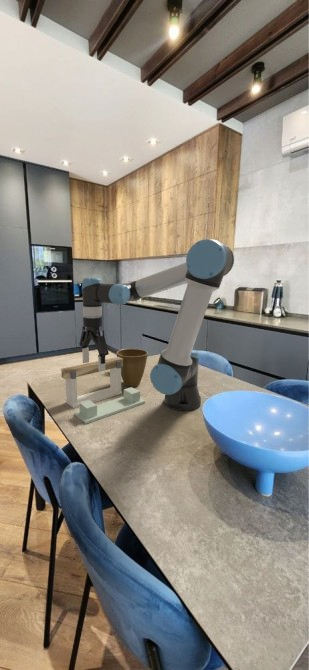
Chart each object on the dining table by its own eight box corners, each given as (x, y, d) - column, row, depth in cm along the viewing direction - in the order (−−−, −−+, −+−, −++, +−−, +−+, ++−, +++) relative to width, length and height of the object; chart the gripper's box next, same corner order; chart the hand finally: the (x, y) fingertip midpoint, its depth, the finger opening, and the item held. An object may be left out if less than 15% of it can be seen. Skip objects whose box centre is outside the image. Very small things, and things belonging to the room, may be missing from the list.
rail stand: (121, 393, 126) (121, 361, 123) (73, 408, 112) (71, 372, 108) (113, 388, 131) (112, 357, 128) (66, 402, 117) (64, 367, 114)
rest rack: (145, 403, 117) (145, 391, 116) (85, 424, 100) (85, 411, 99) (132, 396, 124) (132, 385, 123) (74, 414, 107) (73, 402, 106)
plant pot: (146, 390, 130) (147, 356, 127) (114, 389, 131) (114, 356, 127) (148, 378, 145) (148, 348, 142) (119, 378, 145) (118, 348, 142)
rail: (123, 366, 126) (123, 358, 126) (65, 379, 109) (64, 371, 108) (118, 364, 129) (118, 356, 128) (61, 377, 112) (61, 368, 111)
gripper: (117, 320, 108) (117, 372, 112) (86, 312, 126) (87, 358, 130) (100, 321, 103) (100, 376, 107) (70, 313, 121) (72, 360, 126)
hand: (93, 366), depth 119 cm, fingers open, 13 cm apart
